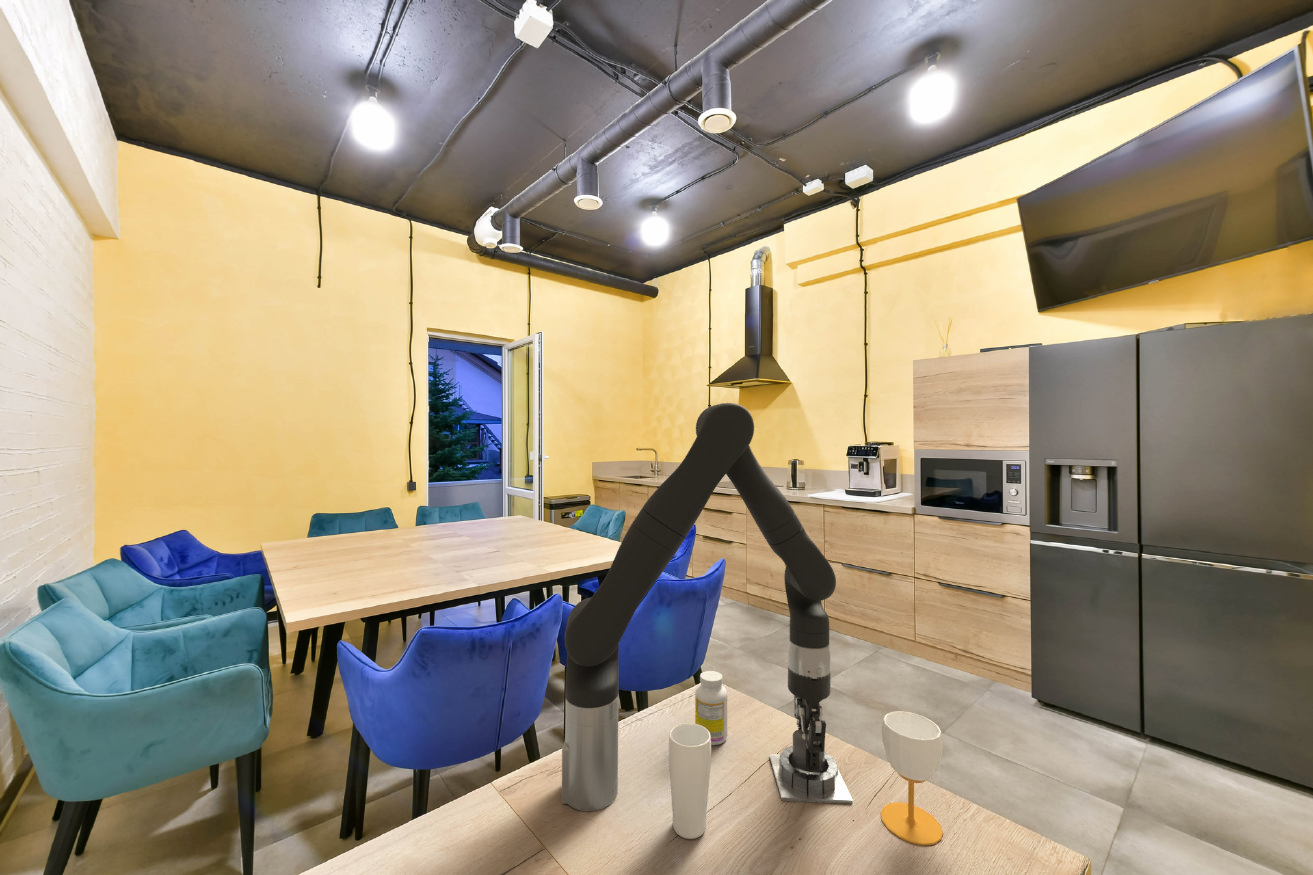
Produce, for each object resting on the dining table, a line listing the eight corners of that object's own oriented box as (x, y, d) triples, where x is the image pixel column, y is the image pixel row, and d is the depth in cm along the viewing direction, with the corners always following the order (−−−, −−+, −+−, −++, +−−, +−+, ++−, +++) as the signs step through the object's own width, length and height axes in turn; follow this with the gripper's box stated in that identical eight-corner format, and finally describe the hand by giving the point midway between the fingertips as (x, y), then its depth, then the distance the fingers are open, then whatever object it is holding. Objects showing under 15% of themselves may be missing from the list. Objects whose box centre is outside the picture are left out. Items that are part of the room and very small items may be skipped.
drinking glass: (708, 848, 77) (709, 749, 77) (664, 840, 78) (665, 743, 78) (712, 815, 84) (713, 724, 84) (672, 809, 85) (672, 720, 85)
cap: (796, 771, 90) (796, 745, 90) (789, 751, 96) (789, 727, 96) (828, 772, 90) (828, 746, 90) (819, 753, 96) (820, 728, 96)
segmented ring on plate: (781, 800, 87) (781, 782, 87) (769, 756, 99) (769, 741, 99) (852, 803, 87) (852, 785, 87) (831, 759, 99) (831, 743, 99)
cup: (911, 798, 88) (912, 706, 88) (956, 837, 80) (957, 735, 80) (868, 809, 85) (869, 714, 85) (910, 851, 77) (911, 745, 77)
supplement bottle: (705, 724, 110) (705, 665, 110) (732, 735, 107) (733, 673, 107) (689, 739, 105) (689, 677, 105) (717, 750, 101) (717, 686, 101)
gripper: (780, 648, 100) (779, 734, 100) (797, 684, 86) (796, 784, 86) (819, 649, 100) (818, 735, 100) (842, 685, 86) (841, 785, 86)
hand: (808, 757), depth 93 cm, fingers closed on cap, 5 cm apart
